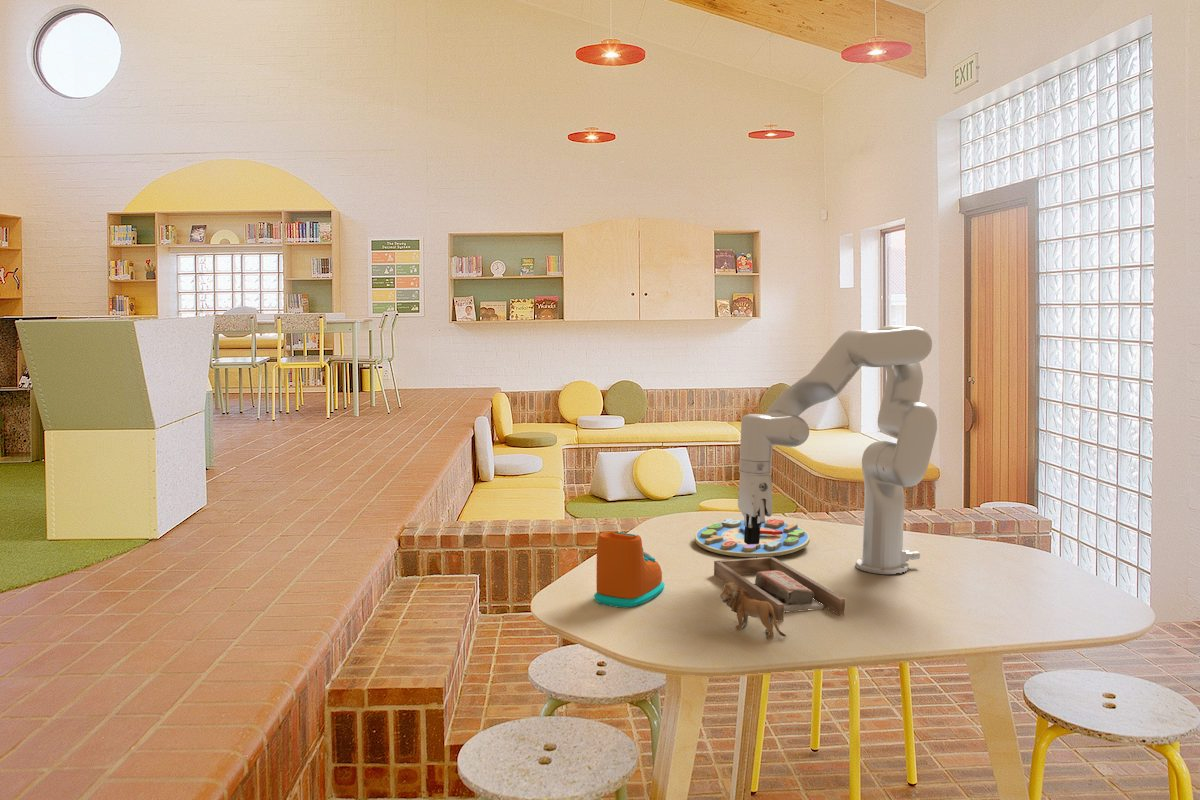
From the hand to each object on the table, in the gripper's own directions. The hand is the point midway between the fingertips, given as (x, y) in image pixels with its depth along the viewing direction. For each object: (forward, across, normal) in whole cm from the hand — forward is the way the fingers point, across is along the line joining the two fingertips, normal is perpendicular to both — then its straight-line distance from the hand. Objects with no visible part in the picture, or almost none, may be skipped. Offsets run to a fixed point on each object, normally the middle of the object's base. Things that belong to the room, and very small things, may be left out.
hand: (751, 543), depth 235 cm
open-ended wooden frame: (+9, -12, -1) cm, 15 cm away
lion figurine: (+10, -33, +15) cm, 37 cm away
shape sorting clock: (+9, +30, -14) cm, 34 cm away
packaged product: (+10, -15, -2) cm, 18 cm away
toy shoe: (+10, -4, +31) cm, 33 cm away
